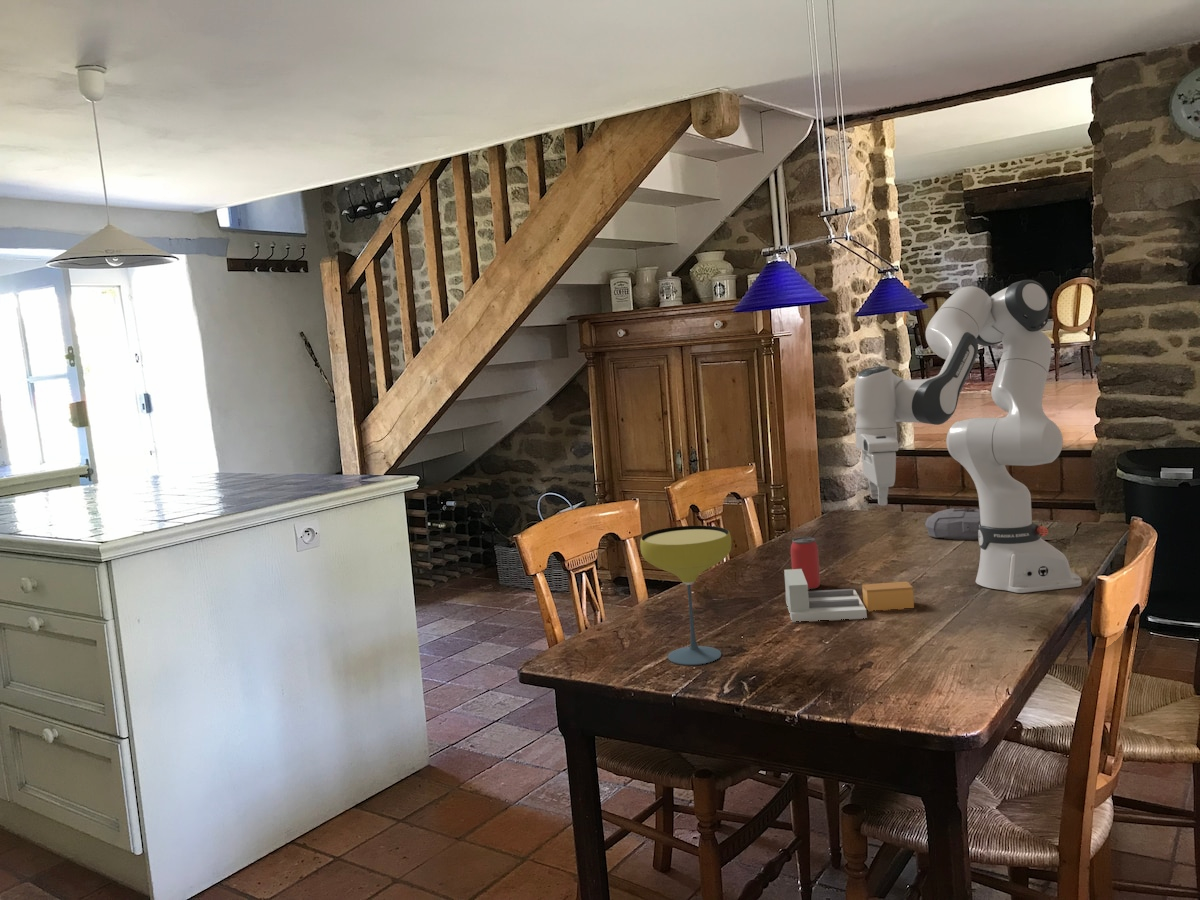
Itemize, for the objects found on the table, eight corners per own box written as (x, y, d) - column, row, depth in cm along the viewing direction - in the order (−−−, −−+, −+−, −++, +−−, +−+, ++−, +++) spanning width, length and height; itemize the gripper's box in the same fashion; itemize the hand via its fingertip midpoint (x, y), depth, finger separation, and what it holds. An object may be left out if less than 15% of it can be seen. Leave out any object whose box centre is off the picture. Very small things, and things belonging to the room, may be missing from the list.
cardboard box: (908, 602, 213) (907, 581, 212) (914, 609, 208) (912, 587, 207) (863, 605, 214) (862, 584, 213) (868, 612, 209) (866, 590, 208)
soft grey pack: (1000, 530, 274) (928, 530, 283) (999, 502, 273) (926, 503, 282) (998, 542, 261) (922, 541, 269) (997, 512, 260) (921, 513, 268)
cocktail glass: (738, 671, 179) (728, 542, 176) (644, 673, 182) (633, 547, 179) (740, 640, 197) (732, 523, 194) (655, 642, 200) (645, 527, 197)
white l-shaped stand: (855, 598, 219) (853, 564, 218) (866, 618, 204) (864, 582, 203) (786, 601, 221) (783, 568, 220) (791, 622, 206) (789, 586, 205)
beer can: (820, 590, 229) (817, 541, 227) (793, 591, 230) (789, 543, 229) (819, 583, 235) (817, 536, 234) (793, 583, 236) (790, 537, 235)
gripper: (854, 437, 219) (857, 495, 221) (869, 445, 199) (872, 509, 201) (882, 435, 219) (884, 494, 220) (900, 443, 198) (902, 508, 200)
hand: (878, 501), depth 210 cm, fingers open, 8 cm apart
